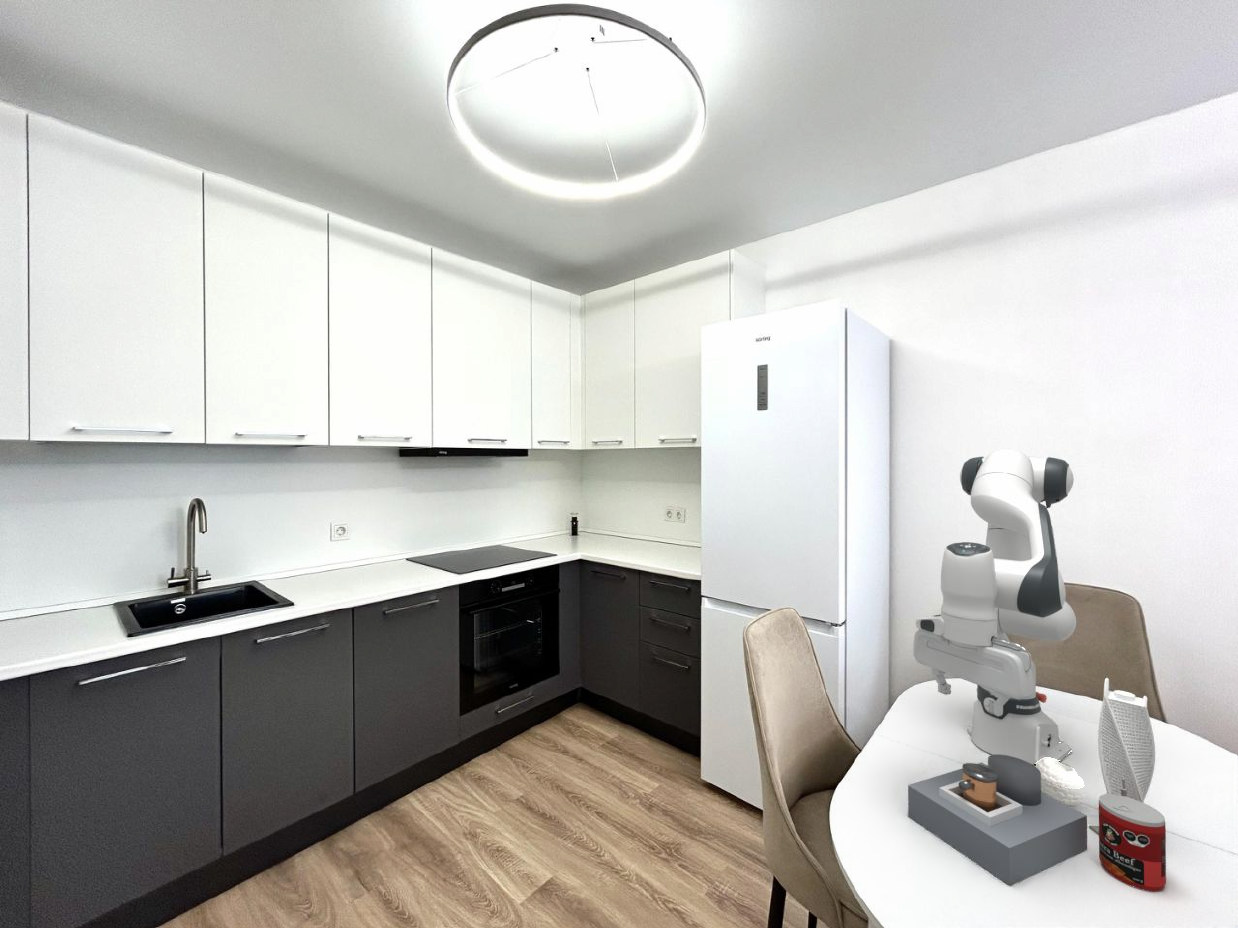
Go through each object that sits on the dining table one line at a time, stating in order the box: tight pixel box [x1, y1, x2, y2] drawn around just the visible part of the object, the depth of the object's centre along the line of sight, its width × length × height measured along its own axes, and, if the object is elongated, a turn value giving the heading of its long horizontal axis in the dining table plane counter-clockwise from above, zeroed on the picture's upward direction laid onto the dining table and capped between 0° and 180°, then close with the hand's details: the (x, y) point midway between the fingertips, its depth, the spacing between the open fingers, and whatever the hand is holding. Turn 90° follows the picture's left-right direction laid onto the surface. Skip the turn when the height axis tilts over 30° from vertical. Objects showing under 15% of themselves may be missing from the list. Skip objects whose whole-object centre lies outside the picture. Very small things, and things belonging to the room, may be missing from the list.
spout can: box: [959, 762, 997, 813], centre depth 93 cm, size 7×5×9 cm
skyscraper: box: [1088, 677, 1156, 836], centre depth 94 cm, size 8×8×28 cm
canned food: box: [1098, 793, 1167, 892], centre depth 85 cm, size 8×8×11 cm
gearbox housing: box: [907, 754, 1088, 887], centre depth 95 cm, size 22×18×11 cm
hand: (968, 703), depth 96 cm, fingers open, 8 cm apart
